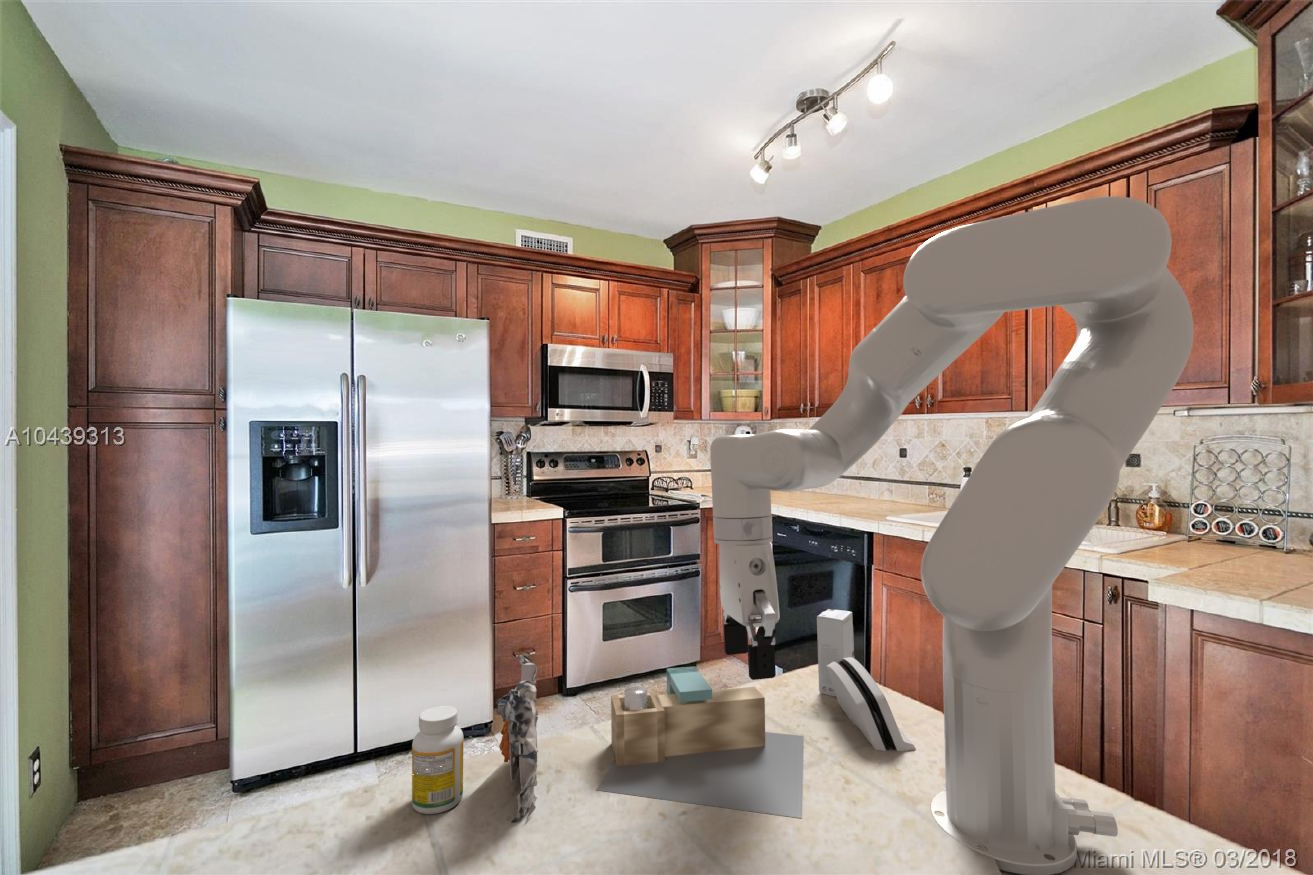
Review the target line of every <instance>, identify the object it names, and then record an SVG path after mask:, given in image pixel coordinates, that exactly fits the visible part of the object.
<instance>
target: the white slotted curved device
mask: <svg viewBox="0 0 1313 875" xmlns="http://www.w3.org/2000/svg"><path fill="white" fill-rule="evenodd" d="M826 667H827V671H828V673H829V676H830V679H831V682H832V685H833V688H834V690H835V693H836V696H837V697H836V699H837V701H838V704H839V706H840V708H841V709H842V711H844V713H845V714H846V716H847V717H848V718H849V720H850V721H851V723H852V724H853V725H855V726H857V727H858V728H859V730H860V731H861V732H862V734H863V735H864V737H865V738H866V739H867V740H868V742H869V743H870V745H871V746H872V748H873V749H874V750H875V751H886V752H887V751H889V750H890V749H889V747H890V748H891V749H892V750H893V751H897V752H903V751H914V750H915V751H916V749H917V748H916V746H915V745H914V744H913V742H912V741H911V740H910V739H909V738H908V737H907V736H906V735H905V733H904V732H903V731H902V730H901V729H900V727H898V724H897V721H896V719H895V716H894V715H893V712H892V709H891V706H890V705H889V702H888V700H887V698H886V697H885V694H884V693H883V691H882V690H881V688H880V687H879V685H878V684H877V683H876V681H875V679H874V678H873V677H872V675H871V674H870V673H869V672H868V670H867V669H866V668H865V667H864V665H862V663H860V662H859V661H858V660H857V659H856V658H855V657H854V658H852V657H848V658H842V659H841V661H839V663H838V662H832V663H830V664H829V665H827V666H826ZM888 745H889V746H888Z"/></svg>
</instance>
